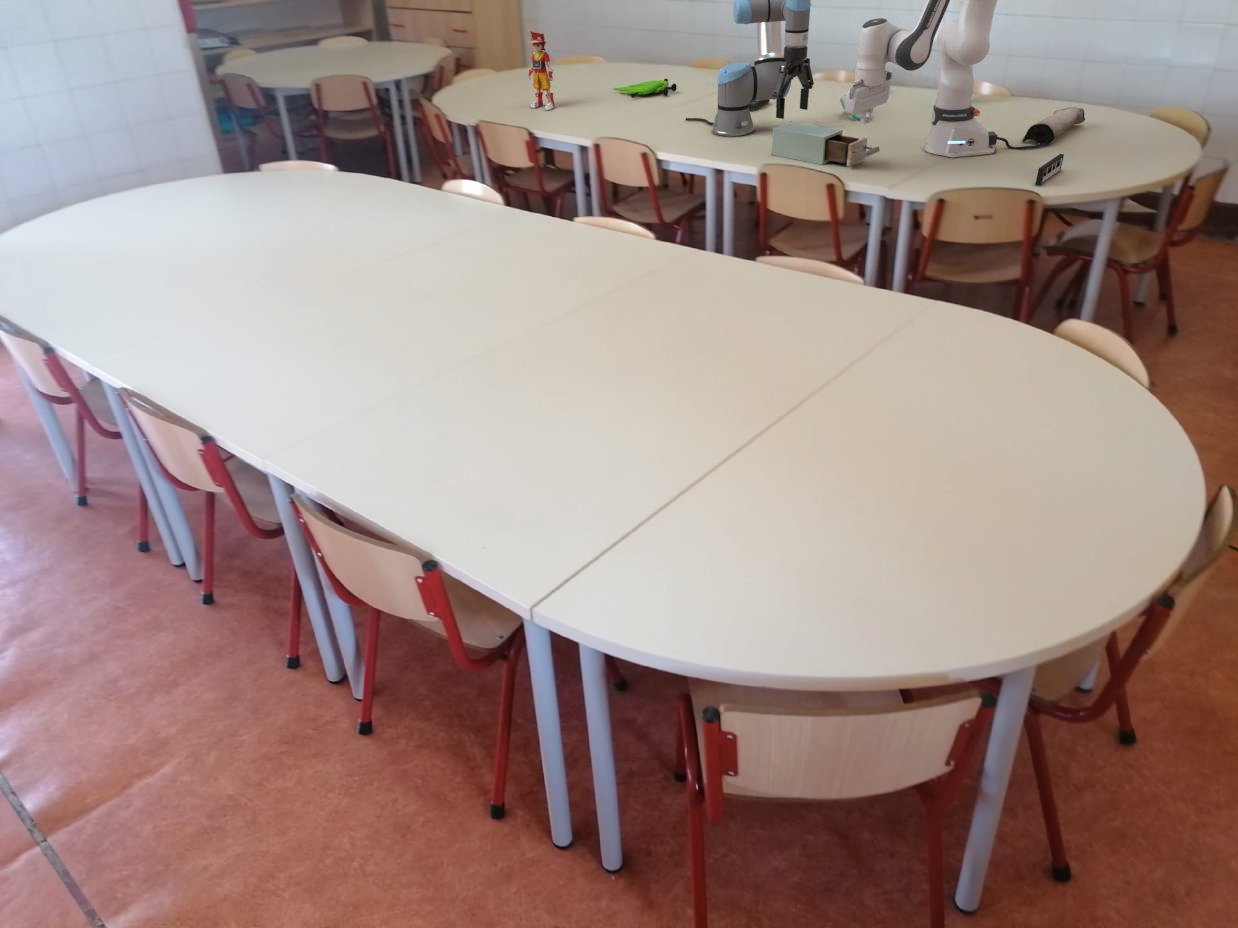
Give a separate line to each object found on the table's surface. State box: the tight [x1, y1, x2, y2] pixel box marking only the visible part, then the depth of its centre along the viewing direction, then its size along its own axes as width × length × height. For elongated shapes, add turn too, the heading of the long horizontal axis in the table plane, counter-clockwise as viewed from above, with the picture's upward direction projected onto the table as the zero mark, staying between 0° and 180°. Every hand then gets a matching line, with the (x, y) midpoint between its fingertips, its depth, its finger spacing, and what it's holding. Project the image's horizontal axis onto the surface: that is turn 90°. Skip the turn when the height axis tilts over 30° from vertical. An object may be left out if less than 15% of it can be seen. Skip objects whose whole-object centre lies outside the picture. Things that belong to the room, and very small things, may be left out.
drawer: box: [824, 134, 881, 167], centre depth 296 cm, size 25×9×7 cm, turn 46°
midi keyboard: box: [1035, 153, 1065, 186], centre depth 273 cm, size 18×1×5 cm, turn 138°
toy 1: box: [527, 31, 556, 111], centre depth 374 cm, size 12×9×30 cm
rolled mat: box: [1021, 106, 1086, 146], centre depth 311 cm, size 30×9×10 cm
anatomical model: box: [839, 93, 874, 121], centre depth 343 cm, size 15×10×10 cm
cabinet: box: [771, 120, 843, 165], centre depth 304 cm, size 21×11×9 cm, turn 46°
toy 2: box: [612, 78, 677, 99], centre depth 396 cm, size 28×5×30 cm
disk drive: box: [749, 99, 771, 111], centre depth 365 cm, size 10×3×15 cm
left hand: (791, 113), depth 303 cm, fingers open, 13 cm apart
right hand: (864, 123), depth 286 cm, fingers closed
